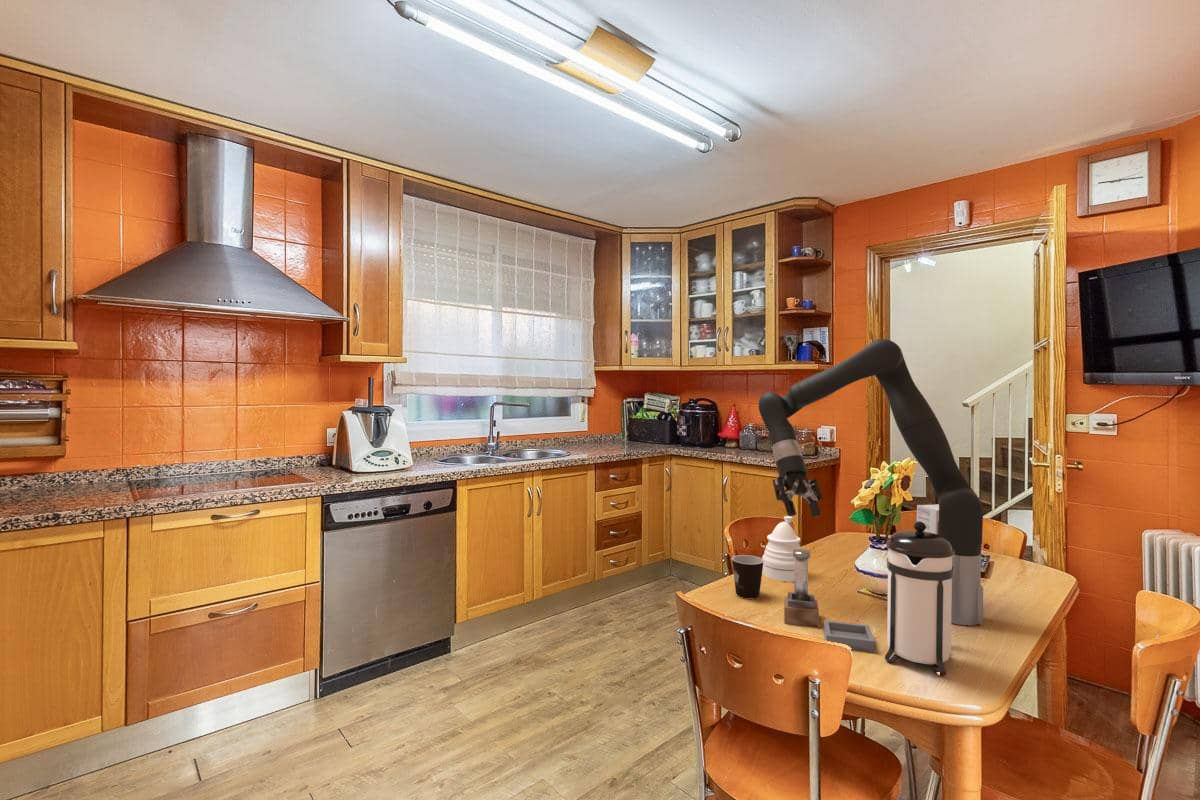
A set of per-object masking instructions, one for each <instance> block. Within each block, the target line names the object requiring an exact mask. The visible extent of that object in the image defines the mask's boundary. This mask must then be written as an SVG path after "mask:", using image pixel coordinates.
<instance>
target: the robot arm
mask: <svg viewBox="0 0 1200 800" xmlns="http://www.w3.org/2000/svg"><path fill="white" fill-rule="evenodd" d="M903 354H904V353H903V350H902V349H901V348H900V345H898V344H897V343H896V342H894V341H893V340H890V339H887V338H886V339H885V338H880V339H875V340H873V341H871V342H870V343H869V344H867V345H866V346H865V347H864V348H862V349H860V350H859V351H858V352H856V353H855V354H853V355H852V356H850V357H849V358H846V359H845V360H843V361H841V362H840V363H837V364H835V365H833V366H831V367H828V368H826V369H825V370H824V369H823V370H821V371H820V372H817V373H815V374H813V375H810V376H807V377H806V378H804V379H802V380H799V381H798V382H796V383H793V384H792V385H791V386H790V387H789V392H787V393H786V394H784V395H782V396H781V395H780V394H778V393H777V392H774V391H767V392H765V393H763V394H761V396H760V398H759V400H758V412H759V414H760V417H761V419H762V421H763V423H764V426H765V428H766V430H767V431H768V435H769V441H770V445H771V447H772V454H773V459H774V463H775V466H776V470H777V474H778V476H777V477H775V478H774V479H772V484H773V489H774V493H775V499H776V500H777V501H778V502H779V501H781V502H782V503H783V504H784V507H785V510H786V515H787V516H791V517H793V516H794V517H795V516H796V515H797V512H796V507H795V504H794V501H793V500H792V499H793V496H800V497H801V498H802V499H805V501H807V503H808V505H809V506H808V507H809V509H810V513H811V517H812V518H818V517H820V516H821V510H820V507H819V506H820V505H819V504H818V503H819V501H821V500H823V495H822V492H821V490H820V486H819V484H818V480H817V479H815V478H812V479H808V477H807V472H808V471H807V470H808V469H807V466H806V463H805V462H806V461H805V460H804V456H803V452H802V450H801V446H800V445H799V442H798V439H797V435H796V431H795V428H794V427H793V424H791V423H790V421H789V418H791V417H792V416H794V415H795V414H796V413H797V412H799V411H801V410H802V409H803V408H805V407H806V406H809V405H811V404H813V403H815V402H817V401H820V400H822V399H824V398H827V397H829V395H830V396H831V395H832V394H834V393H836V392H837V391H839V390H841V389H843V388H845V387H847V386H849V385H850V384H852V383H856V382H858V381H860V380H862V379H866V378H869V377H873V376H875V378H876V379H877V381H878V383H879V385H880V386H881V388H882V389H883V390H884V392H885V395H886V396H887V400H888V404H889V407H890V410H891V413H892V415H893V418H894V422H895V424H896V426H897V428H898V431H899V432H900V435H901V436H902V438H903V440H904V443H905V444H906V446H907V448H908V449H909V451H910V453H911V454H912V455H913V457H914V458H915V460H916V461H917V462H918V464H919V465H920V466H921V467H922V469H923V470H924V472H925V474H926V475H927V478H928V479H929V481H930V484H931V486H932V488H933V491H934V494H935V496H936V499H937V504H939V535H940V536H942V537H944V538H946V539H947V540H948V541H949V542H950V543H951V546H952V548H954V550H955V554H954V556H953V557H952V566H953V577H952V603H951V624H955V625H959V626H966V625H968V626H970V625H973V626H977V624H981V625H980V626H983V625H984V624H983V623H984V586H983V585H982V584H981V578H982V577H981V576H982V575H981V574H982V573H981V572H982V570H981V569H982V567H981V566H982V545H983V530H984V528H983V526H984V507H983V504H982V502H981V500H980V498H979V496H978V495H977V493H976V492H975V490H974V489H973V488H972V487H971V485H970V484H969V482H968V480H967V479H966V478H965V476H964V475H963V473H962V472H961V470H960V468H959V466H958V465H957V463H956V462H957V461H956V460H955V458H954V455H953V451H952V449H951V446H950V443H949V440H948V438H947V436H946V434H945V431H944V429H943V428H942V425H941V424H940V421H939V420H938V418H937V416H936V414H935V412H934V410H933V409H932V407H931V405H930V404H929V402H928V401H927V399H926V398H925V397H924V395H923V394H922V393H921V391H920V390H919V388H918V386H917V385H916V383H915V382H914V379H913V378H912V375H911V373H910V371H909V369H908V366H907V363H906V360H905V357H904V355H903Z"/></svg>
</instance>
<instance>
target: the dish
mask: <svg viewBox="0 0 1200 800" xmlns="http://www.w3.org/2000/svg"><path fill="white" fill-rule="evenodd" d="M823 634H824V640H827V641H831V642H837V643H842V644H846V645H848V646H850V647H851V648H852V650H853V651H859V652H868V653H874V652H875V651H876V649H875V648H876V640H875V638H874V636H873V632H872V631H871V627H870V625H869V624H861V623H853V622H841V621H837V620H836V621H834V620H826V619H825V620H824V619H823ZM852 650H851V651H852Z"/></svg>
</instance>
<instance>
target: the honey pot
mask: <svg viewBox="0 0 1200 800" xmlns="http://www.w3.org/2000/svg"><path fill="white" fill-rule="evenodd" d="M783 519H784V521H781V522H779V523H778V524H777V525H775V527H774V529H773V531H772V532H771V533H770V534H768V535H767V537H766V539H767V540H768V543H767V545H765V550H764V551H763V552H764V553H763V555H762V557H761V558H762V559H763V560H764V562H763V570H762V573H763V574H764V575H765V576H766V577H768V578H771V579H774V580H773V581H775V580H779V581H778V582H781V581H786V582H785V583H795V582H794V581H795V557H793V550H795V549H802V547H801V545H800V542H801V538H800V536H797V534H796V533H795V531H794V529H793V528H792V526H791V525H790V524H791V522H792V521H793V516H792V517H791V516H788V515H787V516H783ZM766 577H765V578H766ZM768 578H767V579H768ZM771 579H770V580H771Z"/></svg>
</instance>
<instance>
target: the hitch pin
mask: <svg viewBox="0 0 1200 800" xmlns="http://www.w3.org/2000/svg"><path fill="white" fill-rule="evenodd" d="M793 557H795V582H794V593H795V594H794V600H800V601H808V594H809V559H810V558H811V551H810V550H807V549H802V548H801V549H795V550H793Z"/></svg>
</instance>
